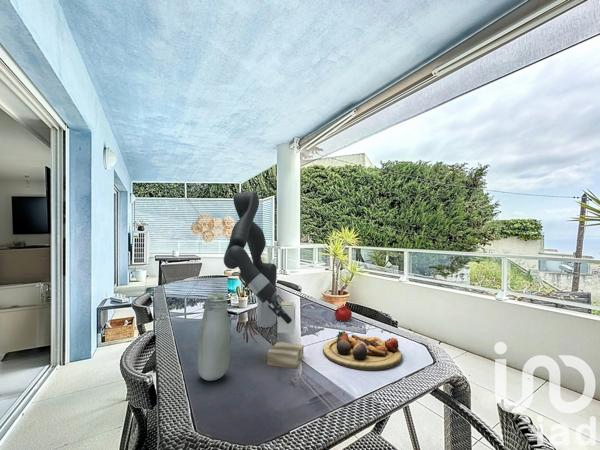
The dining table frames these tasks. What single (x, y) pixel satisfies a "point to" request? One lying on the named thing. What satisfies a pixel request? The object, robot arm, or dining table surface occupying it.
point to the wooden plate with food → (362, 352)
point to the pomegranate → (343, 313)
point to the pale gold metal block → (285, 355)
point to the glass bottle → (214, 338)
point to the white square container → (290, 311)
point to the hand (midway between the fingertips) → (291, 319)
